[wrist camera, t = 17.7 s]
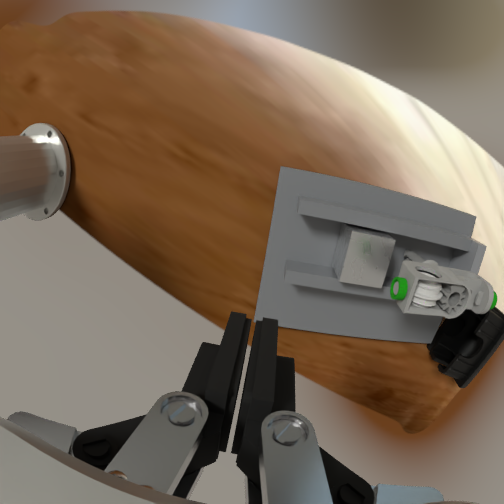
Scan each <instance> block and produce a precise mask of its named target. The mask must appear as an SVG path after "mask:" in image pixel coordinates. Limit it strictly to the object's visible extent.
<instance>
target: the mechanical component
mask: <svg viewBox="0 0 504 504" xmlns="http://www.w3.org/2000/svg"><path fill="white" fill-rule="evenodd" d="M404 257H409V258H406V260H402V261H403V262H402V266H401V269H400V273H399V276H398V277H395V278H394V279H393V280H392V283H391V287H390V295H391V298H392V299H394V300H396V303H397V304H398V306H399V307H400V309H401V310H402V312H403V313H411V314H421V315H433V316H444V317H445V318H448V319H451V318H455V317H457V316H459V315H460V314H462V313H463V312H464V310H465V309H471V310H472V311H473V312H475V313H476V314H485V313H486V312H488V310H489V309H493V308H494V307H495V305H496V303H497V295H496V293H495V292H494V291H493V288H492V286H491V284H490V283H488V282H487V281H486V280H484V279H483V278H482V277H480V276H479V275H477V274H475V273H472V272H469V271H465V270H460V269H454V268H449V267H443V266H439V265H438V263H437V262H435V261H434V260H426V261H425V260H424V259H423V258H421V257H420V256H419V255H418V254H416V253H415V252H414V251H413V250H411V249H408V250H406V251H405V252H404ZM429 307H430V308H429Z"/></svg>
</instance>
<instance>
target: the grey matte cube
mask: <svg viewBox="0 0 504 504" xmlns="http://www.w3.org/2000/svg"><path fill="white" fill-rule="evenodd" d="M395 241H396V240H395V239H394V238H392V237H391V236H390V235H388V234H387V233H386V232H385V231H381V230H377V229H372V228H367V227H363V226H358V225H353V224H348V223H344V222H342V225H341V229H340V234H339V238H338V242H337V246H336V251H335V255H334V259H333V263H332V266H333V268H334V271H335V273H336V275H337V278H338V280H339V282H345V283H351V284H357V285H364V286H370V287H376V288H382V285H383V282H384V279H385V276H386V273H387V269H388V266H389V263H390V259H391V256H392V252H393V249H394V245H395Z"/></svg>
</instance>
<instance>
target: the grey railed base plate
mask: <svg viewBox="0 0 504 504" xmlns="http://www.w3.org/2000/svg"><path fill="white" fill-rule="evenodd" d="M475 220H476V216H473V215H471V214H468V213H465V212H462V211H459V210H456V209H453V208H450V207H447V206H444V205H441V204H437V203H434V202H431V201H428V200H424V199H421V198H418V197H414V196H411V195H407V194H403V193H400V192H396V191H392V190H389V189H385V188H381V187H377V186H373V185H369V184H365V183H361V182H357V181H352V180H348V179H343V178H339V177H334V176H330V175H325V174H320V173H315V172H310V171H305V170H299V169H294V168H288V167H283V166H281V168H280V174H279V180H278V186H277V192H276V198H275V204H274V210H273V216H272V222H271V228H270V233H269V239H268V245H267V251H266V256H265V262H264V268H263V273H262V279H261V284H260V290H259V296H258V301H257V307H256V312H255V317H254V322H256V320H259V321H262V320H263V317H265V318H271V319H277V320H278V326H281V327H287V328H293V329H300V330H307V331H313V332H321V333H328V334H336V335H344V336H352V337H361V338H370V339H380V340H391V341H402V342H415V343H430V344H431V342H432V340H433V338H434V336H435V334H436V332H437V330H438V327H439V325H440V323H441V321H442V318H443V316H433V315H421V314H411V313H403V312H402V310H401V309H400V307H399V306H398V304H397V303H396V300H394V299H392V298H391V295H390V287H391V283H392V280H393V279H394V278H395V277H398V276H399V273H400V269H401V266H402V262H403V261H402V260H406V258H409V257H404V252H405V251H406V250H408V249H411V250H413V251H414V252H415V253H416V254H418V255H419V256H420V257H421V258H423V259H424V260H425V261H426V260H434V261H435V262H437V263H438V265H439V266H443V267H449V268H454V269H460V270H465V271H469V272H472V273H475V274H477V275H478V272H479V269H480V266H481V263H482V260H483V256H484V253H485V250H486V246H485V245H483V244H482V243H480V242H478V241H476V240H474V239H472V238H471V236H472V232H473V228H474V224H475ZM342 222H344V223H348V224H353V225H358V226H363V227H367V228H372V229H377V230H381V231H385V232H386V233H387V234H388V235H390V236H391V237H392V238H394V239H395V240H396V241H395V245H394V249H393V252H392V256H391V259H390V263H389V266H388V269H387V273H386V276H385V279H384V282H383V285H382V288H376V287H370V286H364V285H357V284H351V283H345V282H339V280H338V278H337V275H336V273H335V271H334V268H333V266H332V263H333V259H334V255H335V251H336V246H337V242H338V238H339V234H340V229H341V225H342ZM429 308H430V307H429Z"/></svg>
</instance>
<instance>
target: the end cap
mask: <svg viewBox="0 0 504 504" xmlns="http://www.w3.org/2000/svg"><path fill="white" fill-rule="evenodd" d="M503 340H504V314H503V313H502V312H501V311H500V310H499V309H497V308H496V307H494V308H493V309H489V310H488V312H486V313H485V314H476V313H475V312H473V311H472V310H471V309H465V310H464V312H463V313H462V314H460V315H459V316H457V317H455V318H451V319H448V318H446V319H445V321H444V322H443V323H442V325H441V326H440V328H439V329H438V330H437V332H436V334H435V336H434V338H433V340H432V342H431V344H430V343H428V344H427V348H428V349H429V350H430V355H431V357H432V360H434V361H436V362H439V363H441V364H443V365H445V366H443V365H441V364H439V365H438V366H437V367H438V368H439V371H440V372H441V373H443V374H445V375H448V376H450V377H453V378H454V380H455V381H456V383H457V384H458V386H459V387H460V388H465V387H466V386H467V385H468V384H469V383H470V382H471V381H472V380H473V378H474V377H475V376H476V375H477V374H478V373H479V371H480V370H481V369H482V368H483V366H484V365H485V364H486V363H487V361H488V360H489V359H490V357H491V356H492V355H493V354H494V352H495V351H496V350H497V348H498V347H499V345H500V344H501V343H502V341H503Z"/></svg>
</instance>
